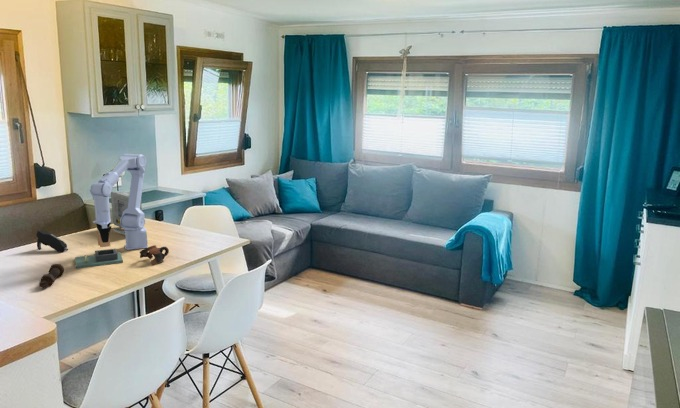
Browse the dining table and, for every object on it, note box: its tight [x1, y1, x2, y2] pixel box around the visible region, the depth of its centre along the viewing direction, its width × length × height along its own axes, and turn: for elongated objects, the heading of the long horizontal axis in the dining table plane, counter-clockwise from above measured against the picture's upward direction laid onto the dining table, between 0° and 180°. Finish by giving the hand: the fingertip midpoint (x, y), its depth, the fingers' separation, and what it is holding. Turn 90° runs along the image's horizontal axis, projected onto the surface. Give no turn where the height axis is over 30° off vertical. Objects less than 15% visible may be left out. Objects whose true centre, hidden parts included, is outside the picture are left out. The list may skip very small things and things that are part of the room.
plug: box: [96, 231, 111, 248], centre depth 219 cm, size 5×4×6 cm
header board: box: [75, 248, 124, 269], centre depth 219 cm, size 18×13×4 cm
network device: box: [110, 190, 143, 236], centre depth 265 cm, size 26×9×20 cm, turn 49°
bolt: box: [38, 263, 65, 289], centre depth 194 cm, size 6×5×15 cm
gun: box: [36, 229, 69, 253], centre depth 233 cm, size 3×16×10 cm, turn 79°
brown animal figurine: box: [139, 244, 170, 266], centre depth 221 cm, size 12×10×8 cm
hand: (105, 240), depth 219 cm, fingers closed on plug, 4 cm apart
